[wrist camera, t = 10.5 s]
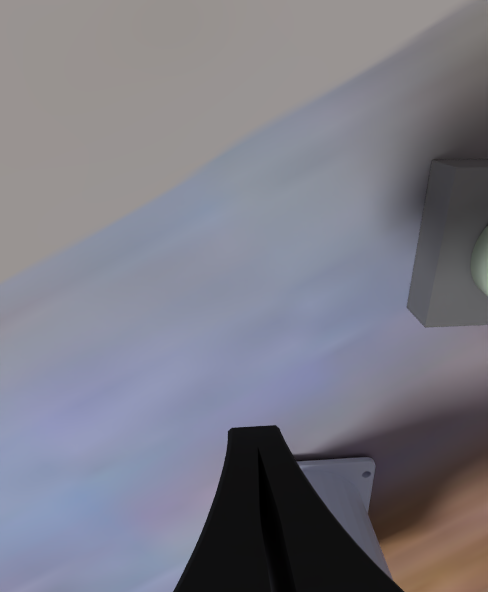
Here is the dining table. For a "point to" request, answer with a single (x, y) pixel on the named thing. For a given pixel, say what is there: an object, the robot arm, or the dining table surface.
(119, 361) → the dining table surface
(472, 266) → the button
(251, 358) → the dining table surface
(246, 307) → the dining table surface
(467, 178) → the button base
